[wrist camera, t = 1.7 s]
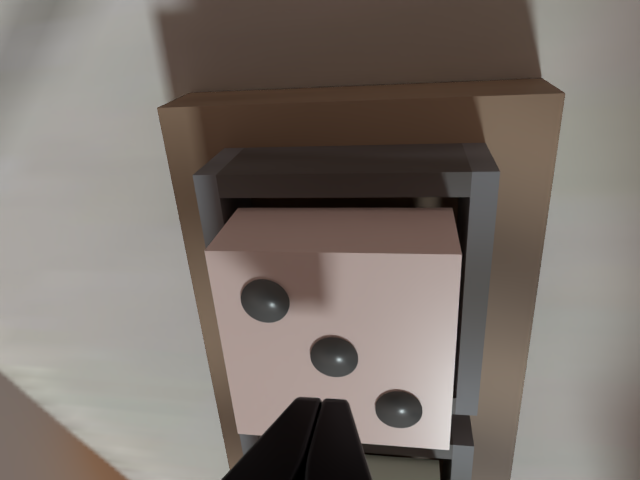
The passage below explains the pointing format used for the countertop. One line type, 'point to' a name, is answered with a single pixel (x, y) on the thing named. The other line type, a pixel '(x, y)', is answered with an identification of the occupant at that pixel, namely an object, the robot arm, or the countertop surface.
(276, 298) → the tile three
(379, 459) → the tile two
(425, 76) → the countertop surface
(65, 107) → the countertop surface
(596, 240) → the countertop surface
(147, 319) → the countertop surface
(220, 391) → the digit board
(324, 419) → the robot arm
